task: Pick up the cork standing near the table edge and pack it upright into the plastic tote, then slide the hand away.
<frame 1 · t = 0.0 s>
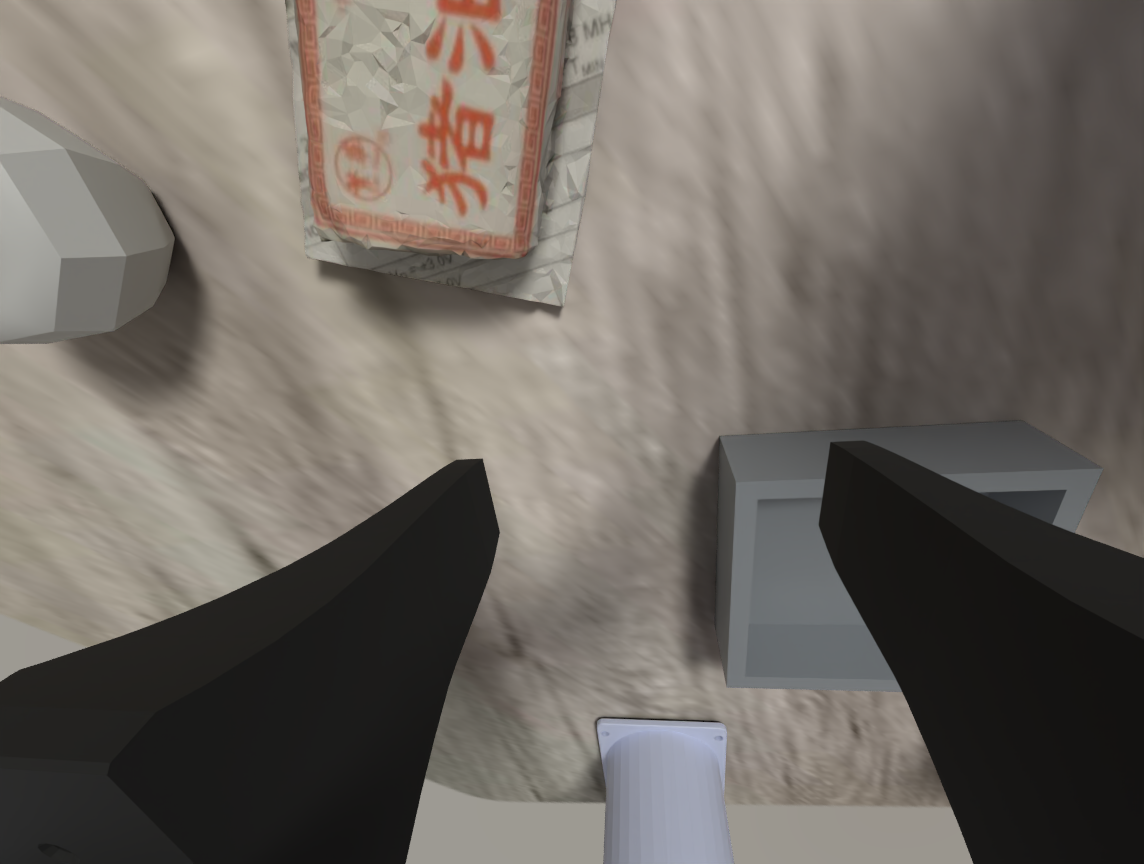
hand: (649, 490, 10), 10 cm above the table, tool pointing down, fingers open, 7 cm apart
apple: (131, 219, 19), on the table
tote: (844, 538, 22), on the table
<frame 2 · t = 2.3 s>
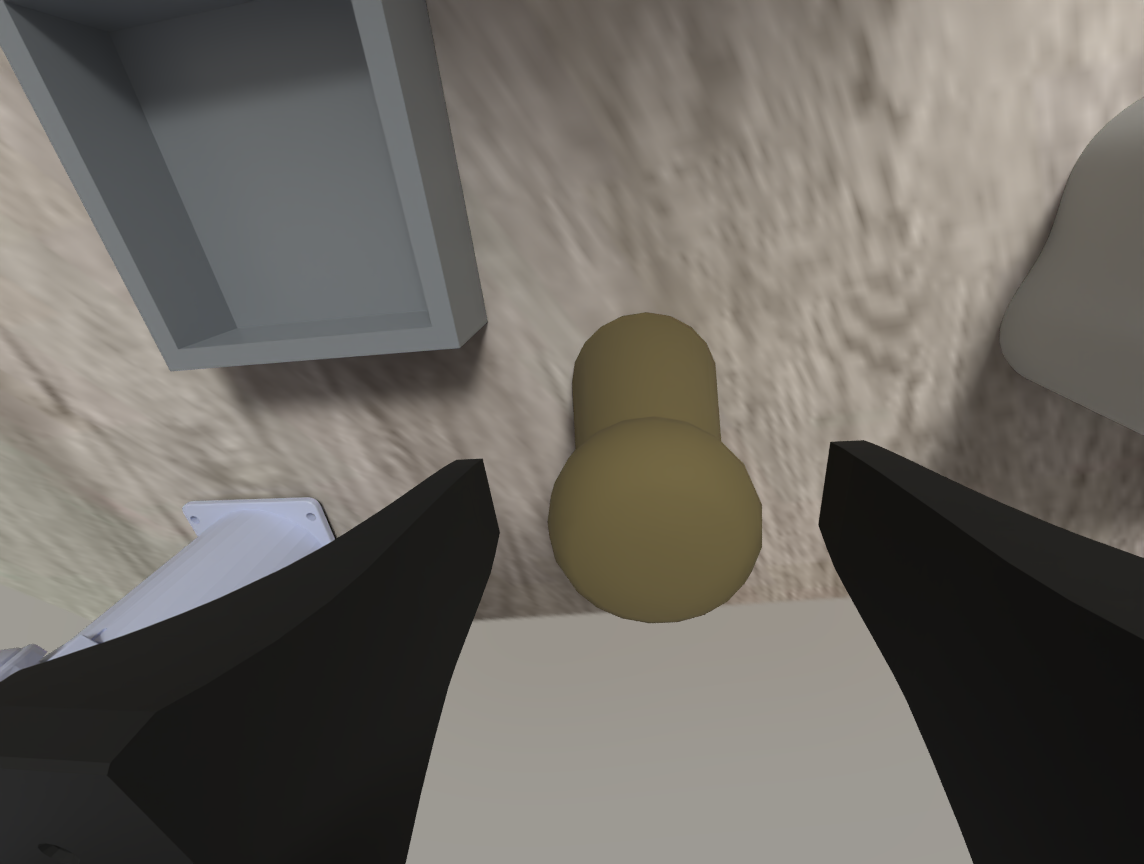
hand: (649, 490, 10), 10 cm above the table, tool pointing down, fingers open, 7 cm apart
cork: (642, 382, 20), on the table
tote: (309, 181, 18), on the table
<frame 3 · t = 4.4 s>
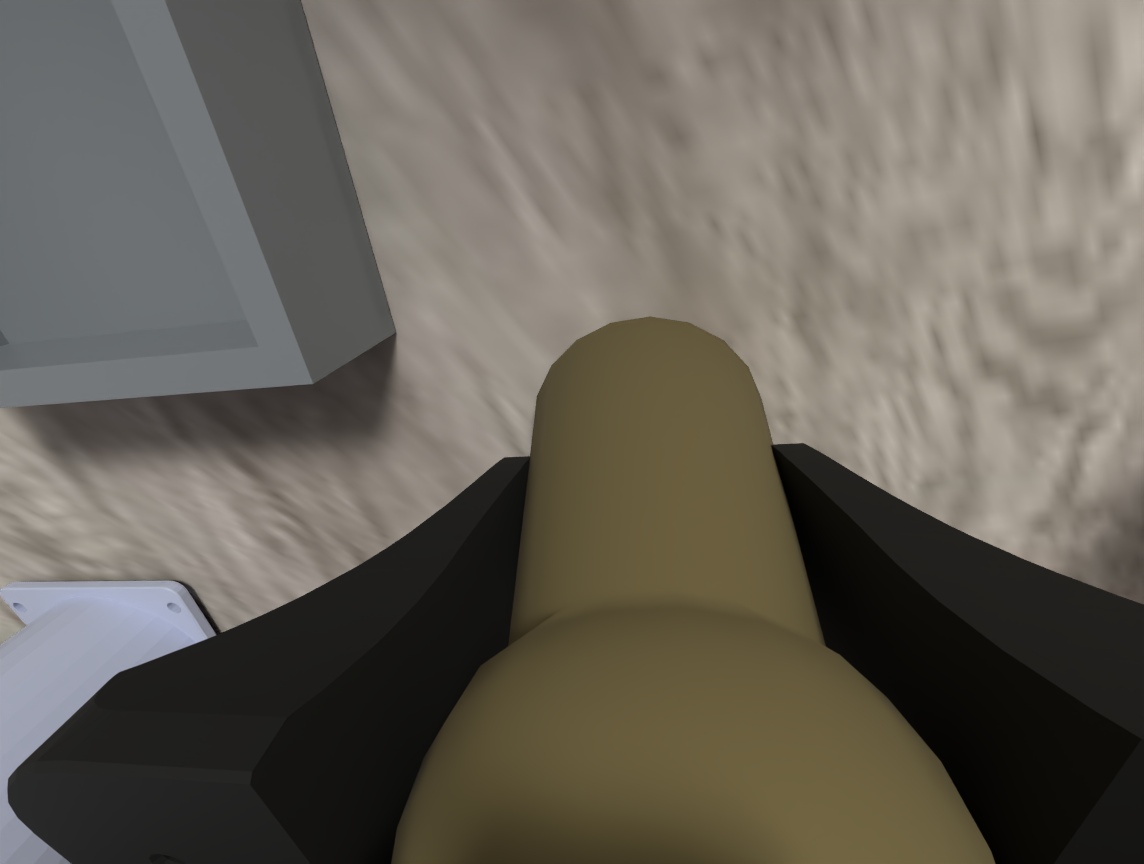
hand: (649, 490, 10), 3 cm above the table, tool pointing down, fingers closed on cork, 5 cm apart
cork: (644, 426, 13), on the table, touching gripper
tote: (77, 97, 10), on the table
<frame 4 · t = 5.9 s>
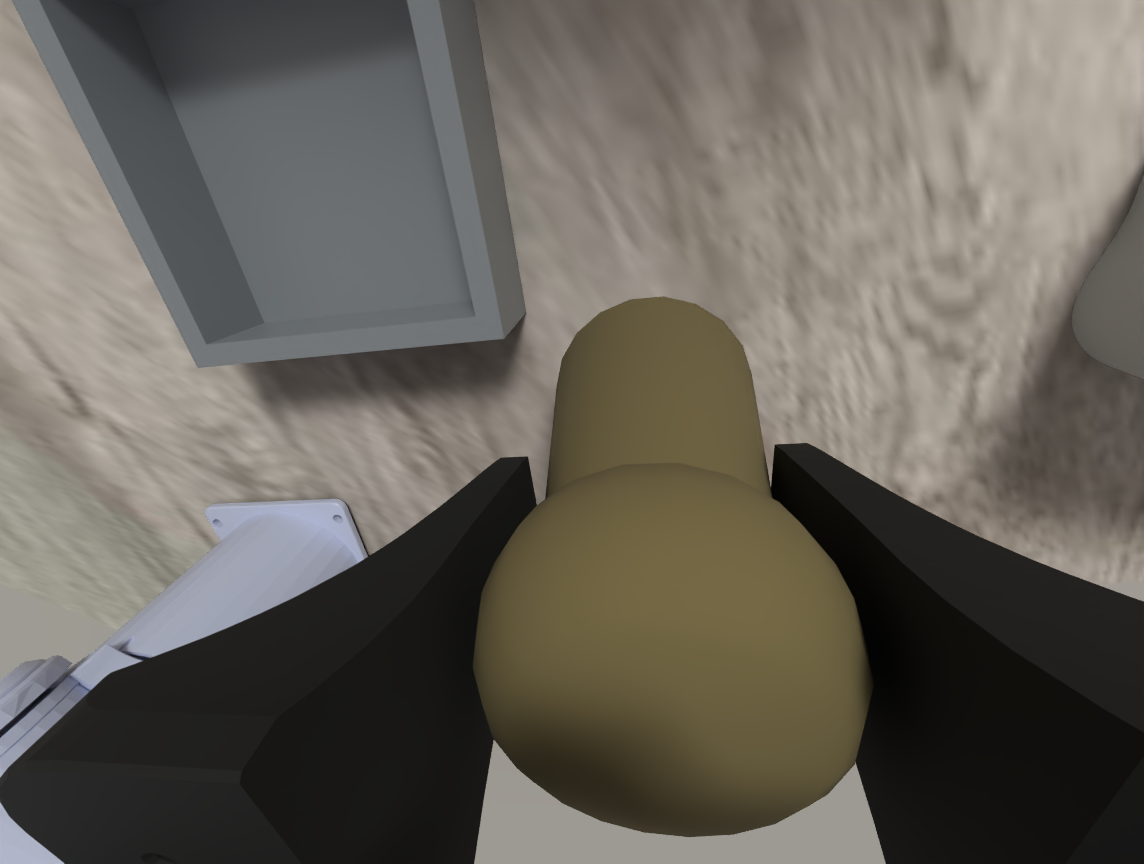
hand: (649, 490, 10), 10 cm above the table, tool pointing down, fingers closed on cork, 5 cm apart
cork: (651, 391, 15), point 4 cm above the table, touching gripper
tote: (341, 166, 17), on the table
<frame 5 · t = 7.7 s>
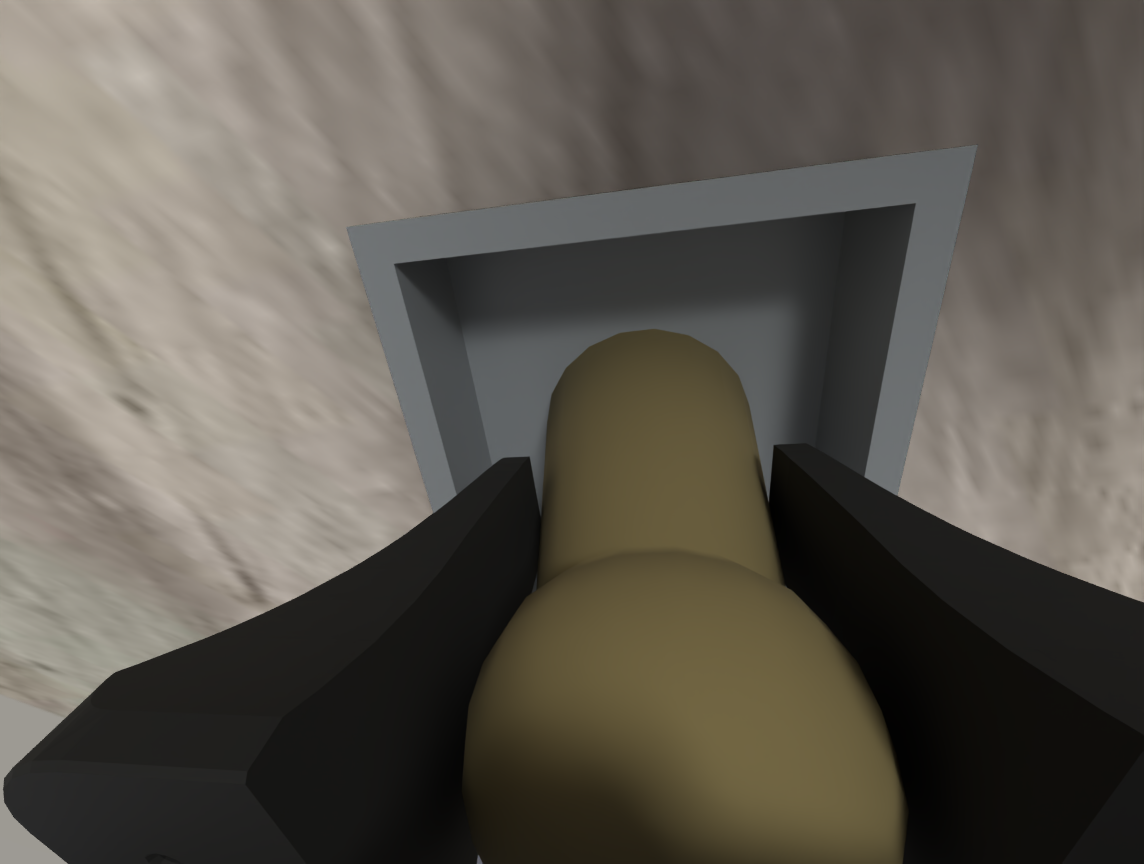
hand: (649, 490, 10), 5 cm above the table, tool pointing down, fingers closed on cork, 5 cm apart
cork: (645, 424, 14), resting on tote, touching gripper
tote: (642, 399, 15), on the table
when the fingers open (5 cm above the table, at t = 8.5 s): cork stays where it is, resting on tote.
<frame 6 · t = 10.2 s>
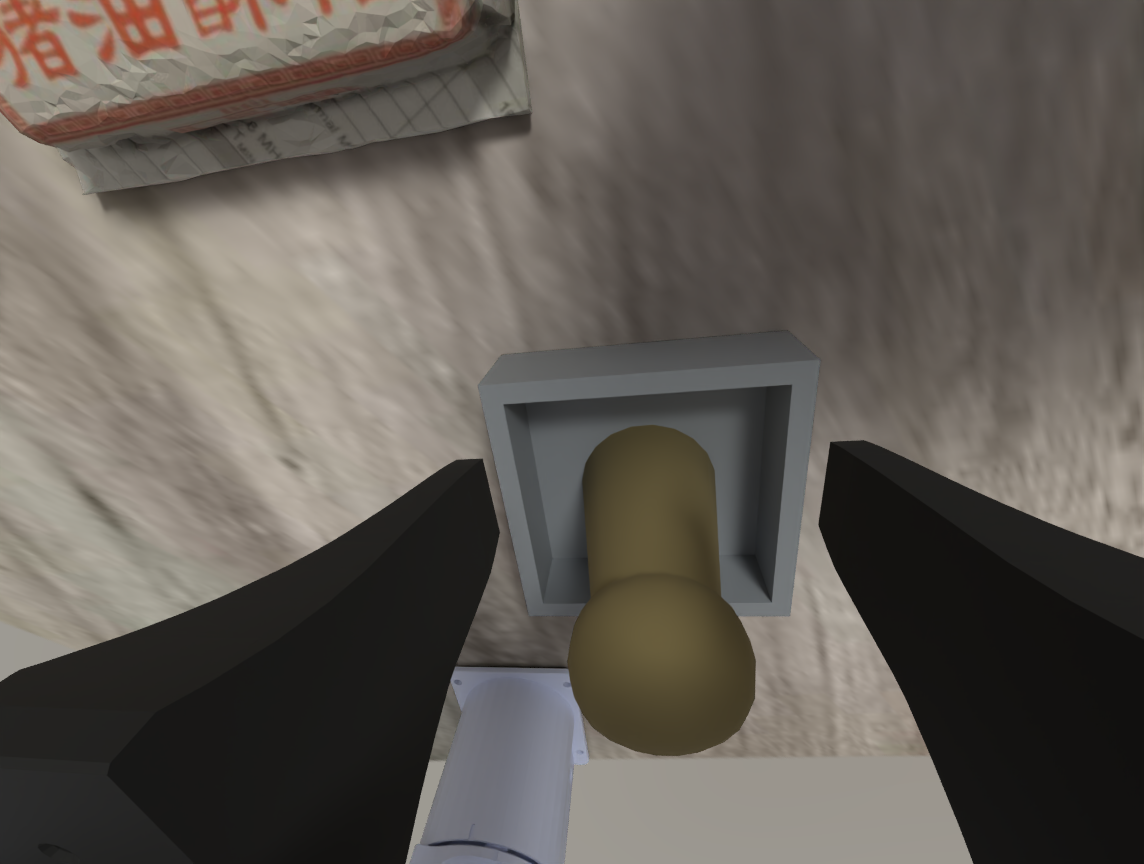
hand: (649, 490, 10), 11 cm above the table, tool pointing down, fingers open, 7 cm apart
cork: (647, 481, 22), resting on tote
tote: (645, 464, 22), on the table
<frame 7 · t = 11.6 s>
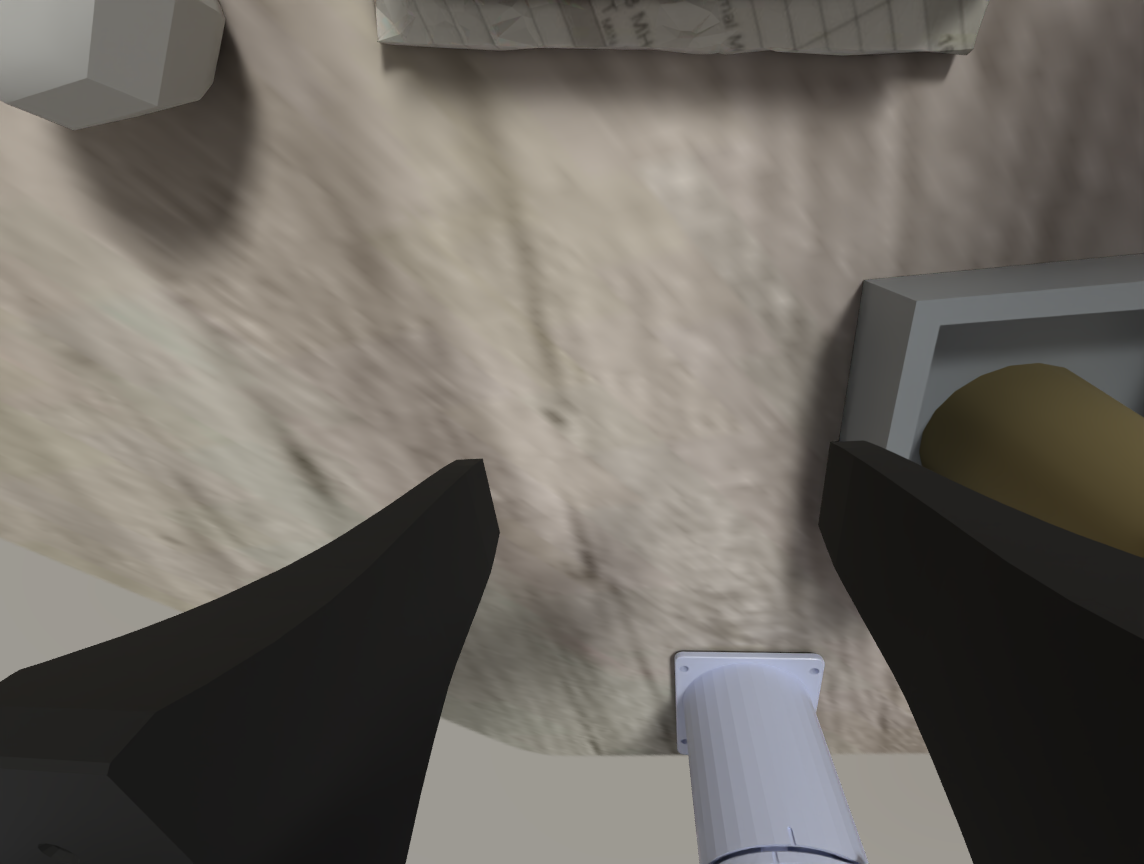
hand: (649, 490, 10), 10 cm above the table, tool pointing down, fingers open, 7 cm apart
cork: (1000, 433, 19), resting on tote
apple: (171, 7, 16), on the table
tote: (996, 414, 19), on the table
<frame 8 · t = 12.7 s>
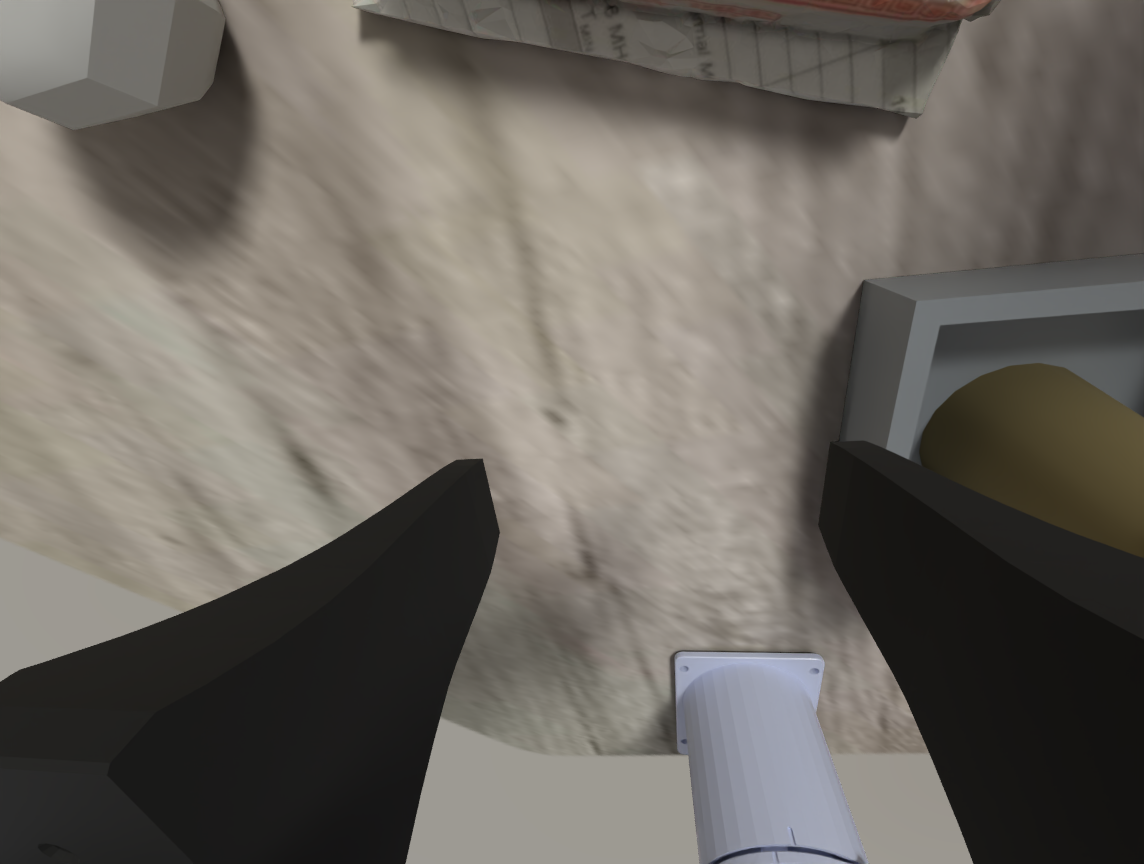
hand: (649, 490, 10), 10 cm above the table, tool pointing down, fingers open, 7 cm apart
cork: (1000, 433, 19), resting on tote
apple: (171, 7, 16), on the table
tote: (996, 414, 19), on the table
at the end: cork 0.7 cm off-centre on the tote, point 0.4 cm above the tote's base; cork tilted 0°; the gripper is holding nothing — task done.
